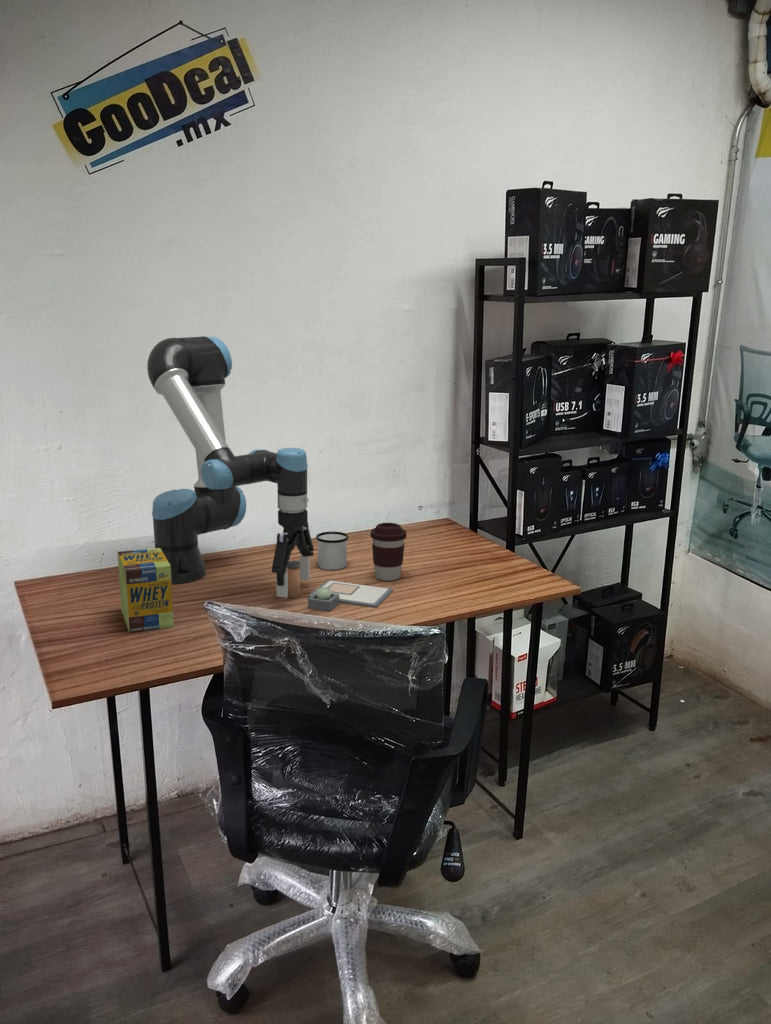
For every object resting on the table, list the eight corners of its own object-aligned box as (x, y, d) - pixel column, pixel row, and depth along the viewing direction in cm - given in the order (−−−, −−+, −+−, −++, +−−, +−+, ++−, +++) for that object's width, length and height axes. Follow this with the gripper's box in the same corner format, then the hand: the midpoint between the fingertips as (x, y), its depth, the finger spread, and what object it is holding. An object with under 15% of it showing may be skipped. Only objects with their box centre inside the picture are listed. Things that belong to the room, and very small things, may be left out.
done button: (314, 602, 214) (314, 591, 213) (320, 597, 217) (320, 586, 216) (327, 604, 213) (327, 593, 212) (333, 599, 216) (333, 588, 215)
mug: (352, 569, 243) (352, 539, 240) (320, 572, 240) (320, 542, 237) (340, 556, 254) (340, 527, 251) (310, 559, 251) (309, 530, 248)
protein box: (129, 633, 197) (124, 570, 193) (120, 610, 210) (116, 551, 206) (174, 627, 201) (171, 565, 197) (163, 604, 214) (160, 546, 210)
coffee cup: (401, 584, 231) (403, 531, 227) (366, 581, 233) (367, 529, 229) (408, 572, 241) (409, 522, 237) (374, 570, 243) (374, 519, 239)
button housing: (308, 608, 213) (308, 598, 213) (317, 600, 219) (317, 591, 218) (330, 611, 212) (330, 602, 211) (339, 603, 217) (339, 594, 216)
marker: (285, 597, 221) (284, 563, 218) (290, 593, 224) (290, 559, 221) (297, 599, 220) (296, 565, 217) (302, 594, 223) (302, 561, 220)
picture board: (307, 598, 220) (307, 594, 220) (327, 582, 232) (327, 578, 232) (376, 607, 214) (376, 604, 214) (393, 591, 226) (393, 587, 226)
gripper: (284, 523, 203) (285, 606, 208) (325, 499, 226) (325, 574, 231) (256, 520, 205) (258, 602, 211) (300, 496, 228) (300, 571, 234)
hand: (293, 588), depth 221 cm, fingers open, 13 cm apart
